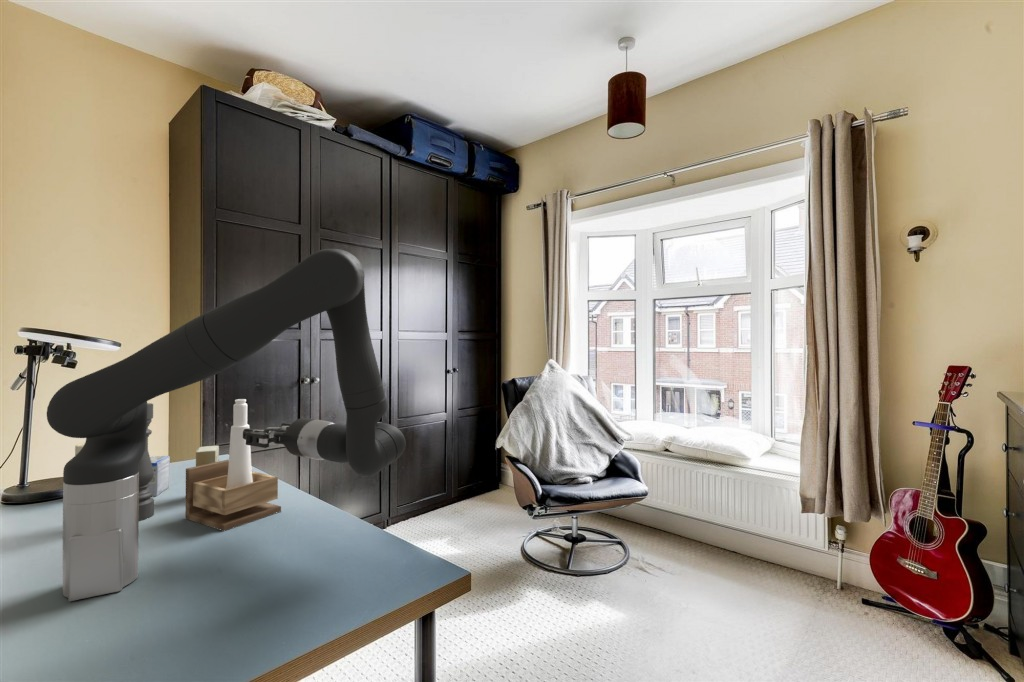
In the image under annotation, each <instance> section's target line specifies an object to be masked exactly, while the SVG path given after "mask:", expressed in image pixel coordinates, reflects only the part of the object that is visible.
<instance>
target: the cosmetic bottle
mask: <svg viewBox="0 0 1024 682" xmlns="http://www.w3.org/2000/svg"><path fill="white" fill-rule="evenodd" d="M246 402H247V399H246V398H238V399H235V400H234V404H233V409H232V410H233V413H232V417H233V420H232V421H233V425H231V427H230V434H229V435H230V438H229V450H228V453H229V454H228V460H229V467H228V477H227V485H226V489H230V488H233V487H237V486H241V485H245V484H248V483H252V482H253V479H252V472H253V471H252V470H253V469H252V449H251V446H250V445H246V440H245V439H243V430H244V429H246V428H249V429H251V427H250V424H248V403H246Z"/></svg>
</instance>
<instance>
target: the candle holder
mask: <svg viewBox="0 0 1024 682" xmlns="http://www.w3.org/2000/svg"><path fill="white" fill-rule="evenodd" d="M147 406H148V415H147V432H146V446H145V451H144V454H143V456H142V458H141V460H140V463H139V522H141V521H144V520H148V519H150V518H152V517H154V515H155V500H154V497H151V496H152V495H153V493H152V492H151V491H150V490H149V489H148V486H149V482H150V481H151V480H152V478H153V476H154V470H153V466H152V463H151V459H150V457H151V456H150V453H149V446H148V445H149V437H150V436H151V435H152V433H153V431H152V430H151V429H149V427H150V425H151V423H152V419H153V418H154V403H152V402H151V403H150V402H149V403H148V402H147ZM147 518H148V519H147Z"/></svg>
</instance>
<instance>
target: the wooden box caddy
mask: <svg viewBox="0 0 1024 682" xmlns="http://www.w3.org/2000/svg"><path fill="white" fill-rule="evenodd" d="M228 467H229V459H225V460H220V461H219V462H215V463H210V464H205V465H200V466H196V465H195V466H191V467H187V468H185V519H186V520H190V521H193V522H194V523H198V524H201V525H204V526H207V525H208V526H207V527H210V526H211V528H213V527H215V528H214V529H216V528H218V529H217V530H219V529H221V530H220V531H222V530H223V532H225V531H228V530H231V529H234V528H237V527H240V526H243V525H245V524H248V523H251V522H254V521H257V520H260V519H264V518H266V517H270V516H272V515H274V513H275V514H277V513H276V512H278V513H280V512H279V511H281V512H282V506H281V505H277V504H275V503H274V504H273V503H270V502H271V501H275V500H278V499H279V498H278V493H279V492H278V491H279V480H278V479H279V478H278V476H274V475H270V474H266V473H261V472H256V471H252V479H253V482H252V483H248V484H245V485H241V486H237V487H233V488H230V489H226V485H227V477H228ZM236 526H237V527H236ZM233 527H234V528H233ZM230 528H231V529H230ZM227 529H228V530H227ZM224 530H225V531H224Z"/></svg>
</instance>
